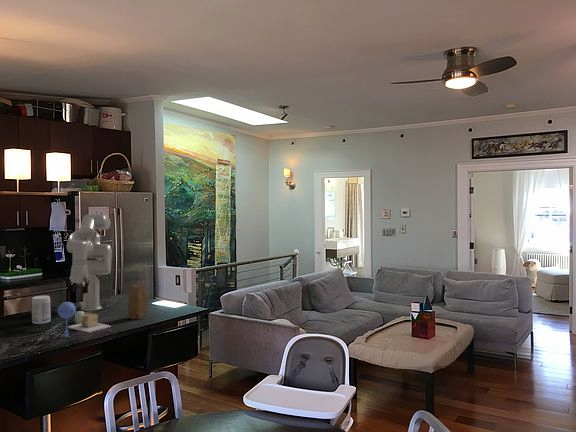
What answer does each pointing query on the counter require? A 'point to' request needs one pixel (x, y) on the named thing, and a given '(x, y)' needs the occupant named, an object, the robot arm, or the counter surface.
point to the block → (137, 302)
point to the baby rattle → (66, 312)
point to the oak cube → (89, 320)
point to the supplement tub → (41, 309)
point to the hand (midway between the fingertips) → (79, 292)
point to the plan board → (90, 329)
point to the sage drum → (78, 316)
